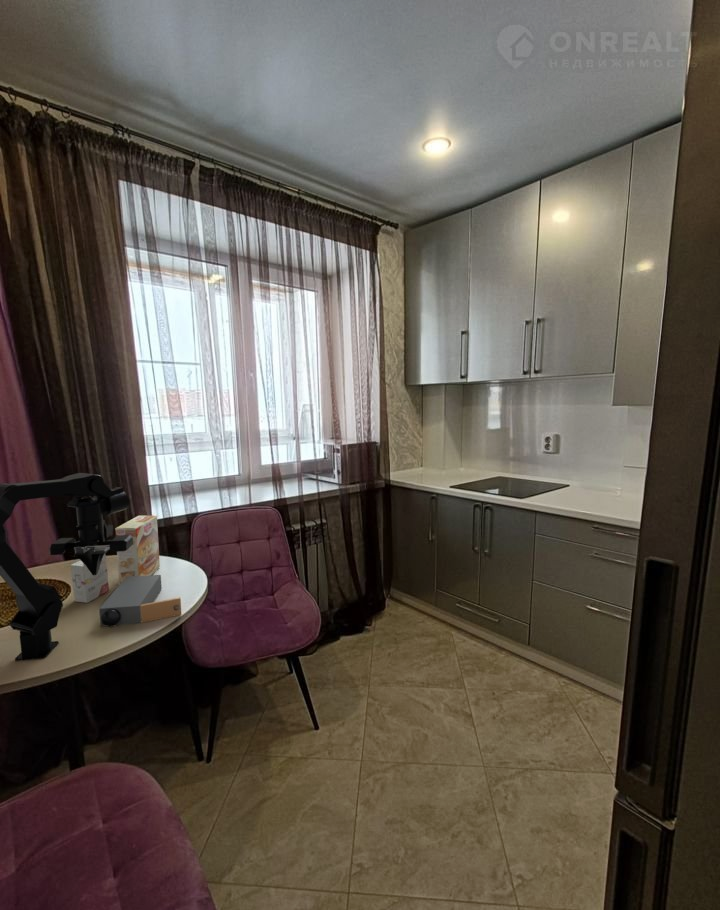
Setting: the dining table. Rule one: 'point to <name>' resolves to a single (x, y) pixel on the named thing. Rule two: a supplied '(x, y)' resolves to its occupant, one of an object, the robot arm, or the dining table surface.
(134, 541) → the coffeecake box
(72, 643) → the dining table surface
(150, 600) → the box
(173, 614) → the side door
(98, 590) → the ink cartridge box
